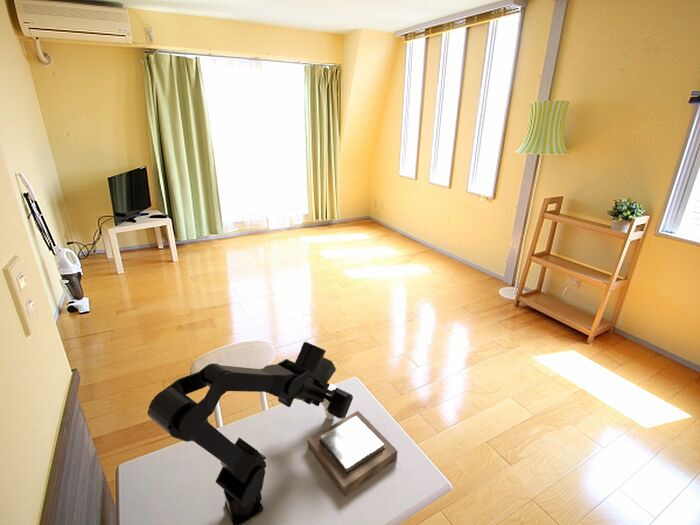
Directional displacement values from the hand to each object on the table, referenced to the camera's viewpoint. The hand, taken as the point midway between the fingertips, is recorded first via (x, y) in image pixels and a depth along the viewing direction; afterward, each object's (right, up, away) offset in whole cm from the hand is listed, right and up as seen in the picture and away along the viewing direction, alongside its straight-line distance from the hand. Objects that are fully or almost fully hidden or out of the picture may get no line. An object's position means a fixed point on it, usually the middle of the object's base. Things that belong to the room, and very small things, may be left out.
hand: (332, 396), depth 101 cm
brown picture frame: (+5, -11, -9) cm, 15 cm away
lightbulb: (-1, -7, +2) cm, 7 cm away
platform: (+5, -9, -10) cm, 14 cm away
